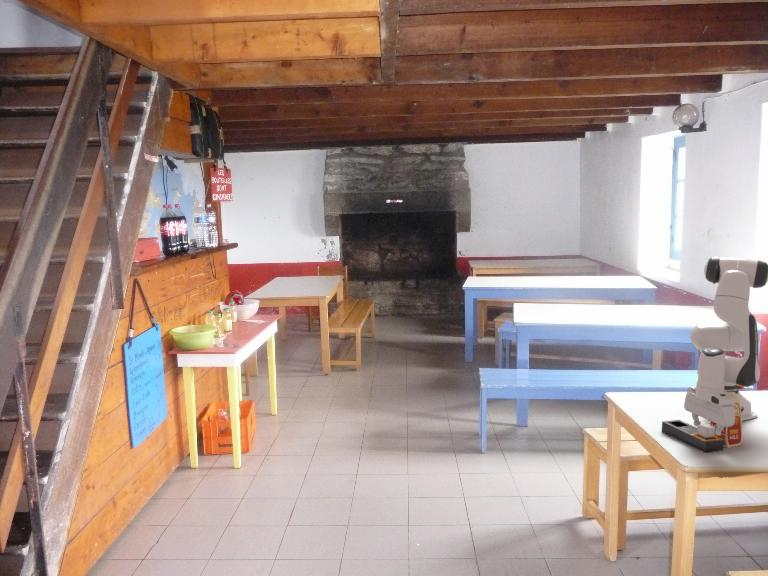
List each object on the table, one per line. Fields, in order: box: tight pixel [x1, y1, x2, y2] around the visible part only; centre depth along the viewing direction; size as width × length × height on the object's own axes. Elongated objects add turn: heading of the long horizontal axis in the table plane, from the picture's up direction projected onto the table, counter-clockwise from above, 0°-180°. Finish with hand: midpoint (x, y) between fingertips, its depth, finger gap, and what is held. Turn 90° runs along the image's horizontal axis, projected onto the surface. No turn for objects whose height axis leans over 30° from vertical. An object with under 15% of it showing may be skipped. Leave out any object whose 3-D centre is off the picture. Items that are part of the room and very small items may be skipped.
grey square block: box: [696, 423, 715, 440], centre depth 219 cm, size 4×4×8 cm
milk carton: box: [709, 392, 743, 449], centre depth 224 cm, size 9×9×20 cm
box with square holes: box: [661, 419, 725, 454], centre depth 226 cm, size 8×22×4 cm, turn 15°
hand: (706, 430), depth 219 cm, fingers open, 8 cm apart
